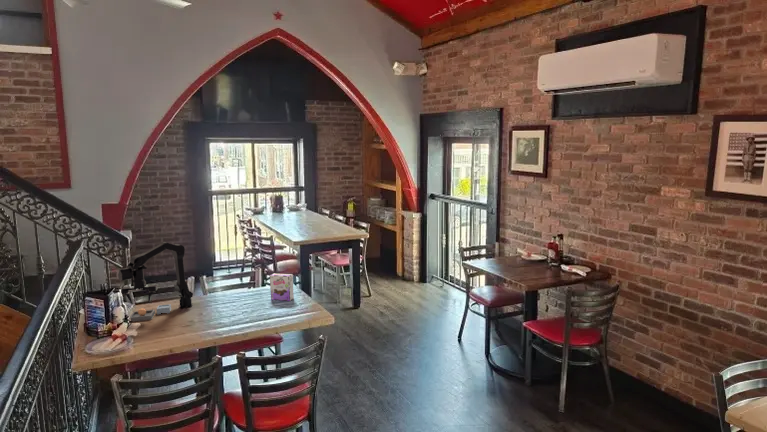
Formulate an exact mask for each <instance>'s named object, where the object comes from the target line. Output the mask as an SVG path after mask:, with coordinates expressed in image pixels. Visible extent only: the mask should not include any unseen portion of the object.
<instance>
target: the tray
mask: <svg viewBox="0 0 767 432" xmlns="http://www.w3.org/2000/svg"><path fill="white" fill-rule="evenodd" d="M145 310H146V309H145ZM138 311H139V310H138ZM138 311H132V313H131V314H130V316H129V317H130V318H131V321H133V322H142V321H150V320H153V318H154V317H153V316H155V315H156V309H148V310H146V314H145V315H143V316H140V315H139V314H138ZM154 314H155V315H154Z"/></svg>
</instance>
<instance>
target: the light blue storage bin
mask: <svg viewBox="0 0 767 432" xmlns="http://www.w3.org/2000/svg"><path fill="white" fill-rule="evenodd" d="M170 311H172V304H171V303H170V304H159V305H157V307H156V315H162V314H161V313H167V314H171V312H170Z"/></svg>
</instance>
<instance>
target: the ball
mask: <svg viewBox="0 0 767 432" xmlns="http://www.w3.org/2000/svg"><path fill="white" fill-rule="evenodd" d="M138 314H139V315H140V316H143V315H145V314H146V309H145V308H139V309H138Z"/></svg>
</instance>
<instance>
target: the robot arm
mask: <svg viewBox="0 0 767 432" xmlns="http://www.w3.org/2000/svg"><path fill="white" fill-rule="evenodd" d="M166 250H167V251H168V250H169V251H171V254H172V257H173V259H174V264H175V273H176V275H175V276H176V283H175V284H173V286H174V289H173V291H174V292H175V293H176V294H177V295H178V297H179V306H180V309H182V308H183V309H184V308H192V306H193V301H192V300H193V299H192V298H193V296H194V292H192V291H190V289H189V285H188V283H187V281H186V275H185V267H184V265H185V264H184V257H185V254H186V253H185V252H186V251H185V250H186V249H185V246H184V245H182V244H179V243H174V244H172V243H169V242H166V241H163V242H161V243H160V244H157V245H156V246H154V247H151V248H150V249H148V250H147V251H145V252H143V253H139V254H136V255H133V256H131V258H130V261H129V263H128V265H127V266H126V267H125V268H119V269H118V274H117V277H118V280H119V282H123V281H128V280H133V281H132V285H133V287H131V286H123V287H122V289H120V292H121V293H122V294H121V293H120V294H121V295H124V296H126V297H127V299H128V300H129V302H130V303H131V305H133V304H134V301H133V295H132V292H140V291H148V292H147V293H148V296H147V297H148V303H151V299H152V295H153V293H155V292H157V290H158V285H157V284H156V283H155V284H150V285H148V286H147V281H146V280H145V273H144V270H147V269H148V268H147V266H145V264H146V263H147V261H148V260H150V259H152V258H153V257H155V256H157V255H158V254H160V253H162V252H164V251H166ZM148 262H149V261H148Z"/></svg>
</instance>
